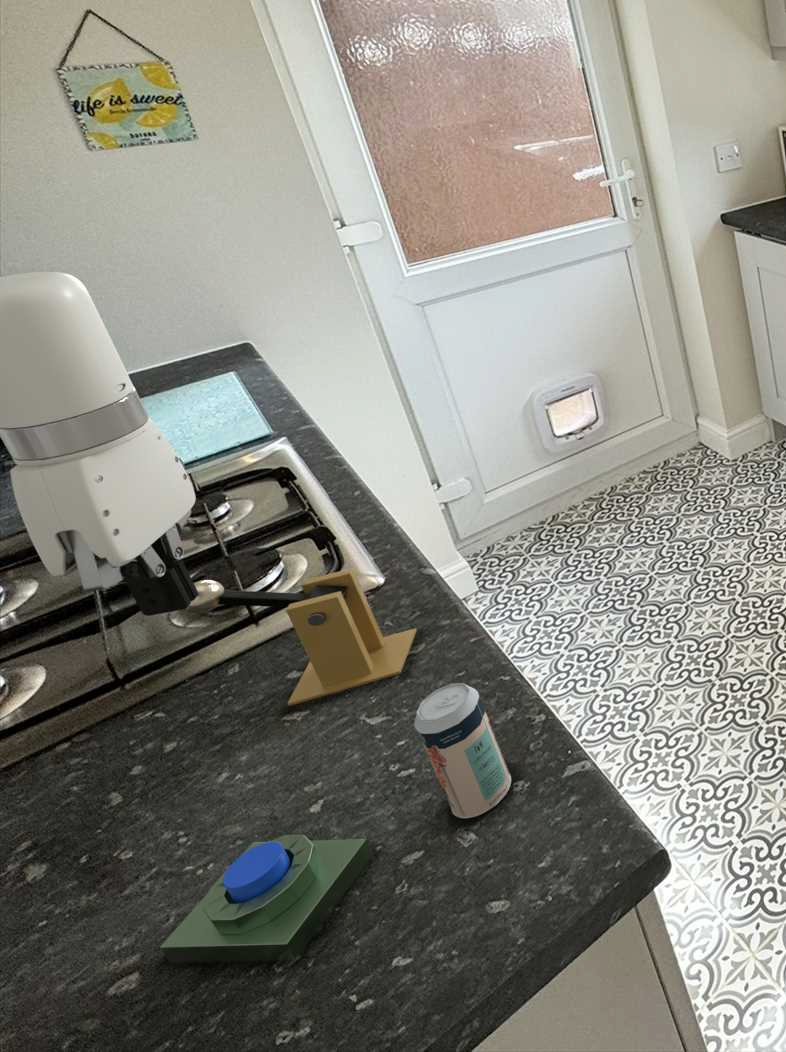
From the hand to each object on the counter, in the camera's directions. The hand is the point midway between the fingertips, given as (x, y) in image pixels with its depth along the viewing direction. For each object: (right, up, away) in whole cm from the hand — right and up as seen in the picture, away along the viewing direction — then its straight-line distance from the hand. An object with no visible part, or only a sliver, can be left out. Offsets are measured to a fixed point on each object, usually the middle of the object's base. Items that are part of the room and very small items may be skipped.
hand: (172, 605), depth 69 cm
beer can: (+26, -19, +3) cm, 32 cm away
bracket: (+2, -14, +18) cm, 23 cm away
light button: (+14, -20, -6) cm, 25 cm away
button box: (+14, -23, -5) cm, 27 cm away
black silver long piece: (-4, -5, +12) cm, 14 cm away
